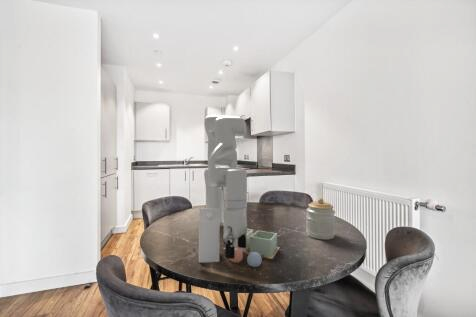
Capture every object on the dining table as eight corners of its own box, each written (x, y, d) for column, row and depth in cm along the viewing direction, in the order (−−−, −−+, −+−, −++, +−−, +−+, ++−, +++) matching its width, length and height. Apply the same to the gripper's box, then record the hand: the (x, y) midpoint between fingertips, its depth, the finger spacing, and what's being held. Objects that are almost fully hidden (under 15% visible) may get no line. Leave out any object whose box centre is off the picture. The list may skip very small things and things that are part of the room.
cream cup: (226, 247, 90) (226, 232, 90) (235, 240, 97) (235, 226, 97) (245, 251, 86) (245, 236, 86) (253, 243, 94) (253, 229, 94)
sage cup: (250, 252, 86) (250, 236, 86) (257, 244, 93) (257, 230, 93) (270, 256, 82) (271, 240, 82) (276, 248, 90) (277, 233, 89)
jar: (301, 235, 108) (301, 198, 107) (313, 228, 117) (313, 195, 117) (328, 242, 99) (329, 202, 99) (339, 235, 108) (339, 198, 108)
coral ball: (226, 264, 79) (226, 250, 79) (232, 258, 83) (232, 245, 83) (239, 267, 77) (239, 252, 77) (245, 261, 81) (245, 247, 81)
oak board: (223, 251, 89) (223, 248, 89) (235, 242, 99) (235, 239, 99) (272, 262, 81) (272, 258, 80) (280, 250, 90) (280, 247, 90)
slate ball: (244, 268, 76) (244, 254, 76) (250, 262, 80) (250, 248, 80) (258, 272, 74) (258, 256, 74) (263, 265, 78) (263, 251, 78)
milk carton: (200, 256, 85) (200, 206, 84) (219, 256, 85) (219, 205, 85) (198, 266, 78) (198, 210, 77) (219, 265, 78) (219, 210, 78)
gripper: (237, 199, 89) (237, 242, 89) (214, 207, 73) (214, 260, 73) (254, 200, 86) (254, 245, 86) (235, 210, 70) (235, 265, 70)
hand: (236, 252), depth 79 cm, fingers open, 9 cm apart
